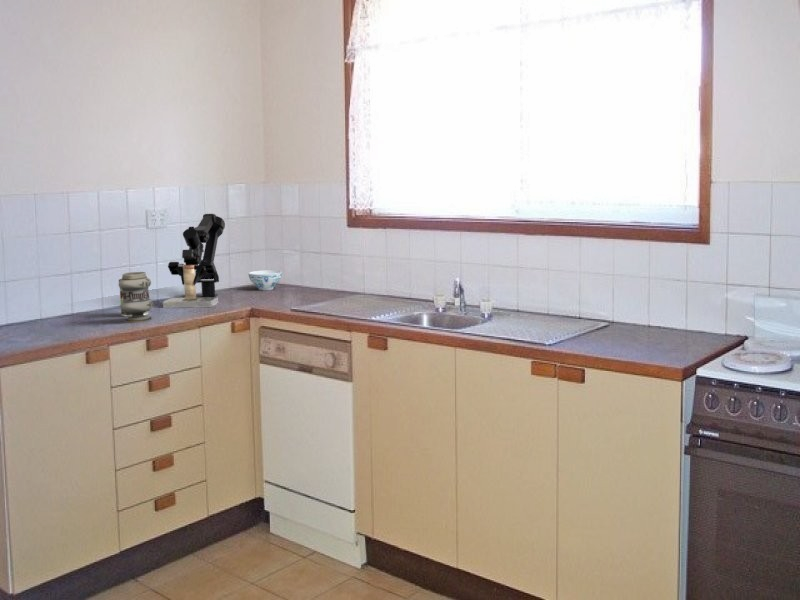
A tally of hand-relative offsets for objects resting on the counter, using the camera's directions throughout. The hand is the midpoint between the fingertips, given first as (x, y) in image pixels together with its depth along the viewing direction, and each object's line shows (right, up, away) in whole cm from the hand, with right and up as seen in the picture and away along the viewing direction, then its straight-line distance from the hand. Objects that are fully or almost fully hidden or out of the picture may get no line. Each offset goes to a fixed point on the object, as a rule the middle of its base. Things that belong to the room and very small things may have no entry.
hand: (188, 284), depth 388 cm
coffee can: (-17, -12, -16) cm, 27 cm away
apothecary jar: (-13, -14, -29) cm, 35 cm away
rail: (0, -9, +3) cm, 9 cm away
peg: (0, -7, +2) cm, 8 cm away
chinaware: (+25, -2, +45) cm, 51 cm away
